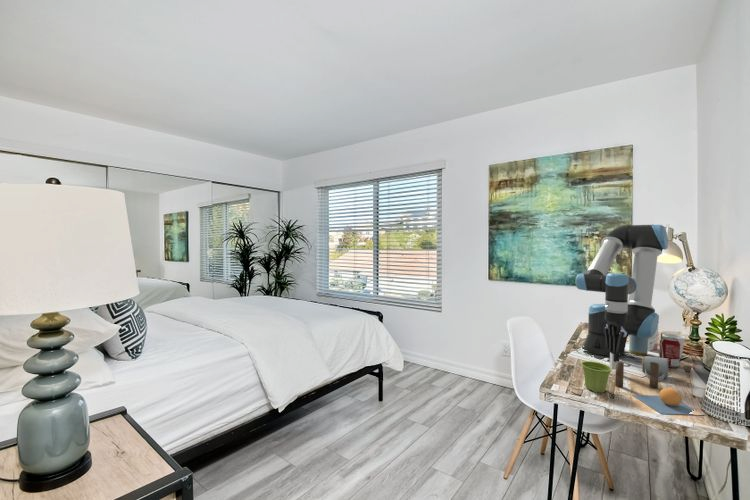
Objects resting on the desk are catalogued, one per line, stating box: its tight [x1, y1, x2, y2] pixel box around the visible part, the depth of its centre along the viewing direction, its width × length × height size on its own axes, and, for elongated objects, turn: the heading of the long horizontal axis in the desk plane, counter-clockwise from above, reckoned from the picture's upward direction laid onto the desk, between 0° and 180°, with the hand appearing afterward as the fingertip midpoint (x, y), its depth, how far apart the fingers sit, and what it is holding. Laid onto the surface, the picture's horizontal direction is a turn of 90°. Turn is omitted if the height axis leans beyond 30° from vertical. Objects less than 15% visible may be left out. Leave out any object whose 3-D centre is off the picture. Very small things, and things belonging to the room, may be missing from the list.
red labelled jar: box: [658, 336, 681, 368], centre depth 150 cm, size 7×7×12 cm
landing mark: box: [632, 394, 695, 416], centre depth 114 cm, size 13×13×1 cm
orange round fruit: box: [658, 387, 682, 406], centre depth 113 cm, size 6×6×6 cm
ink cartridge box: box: [648, 326, 659, 352], centre depth 173 cm, size 9×5×15 cm, turn 115°
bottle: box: [628, 335, 649, 356], centre depth 166 cm, size 7×7×15 cm
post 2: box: [649, 362, 659, 390], centre depth 127 cm, size 2×2×9 cm
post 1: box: [614, 360, 625, 388], centre depth 128 cm, size 2×2×9 cm
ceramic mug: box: [641, 355, 669, 382], centre depth 137 cm, size 11×8×8 cm
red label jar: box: [661, 333, 687, 359], centre depth 161 cm, size 8×8×10 cm
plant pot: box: [580, 360, 613, 393], centre depth 125 cm, size 9×9×9 cm
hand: (614, 368), depth 140 cm, fingers closed
